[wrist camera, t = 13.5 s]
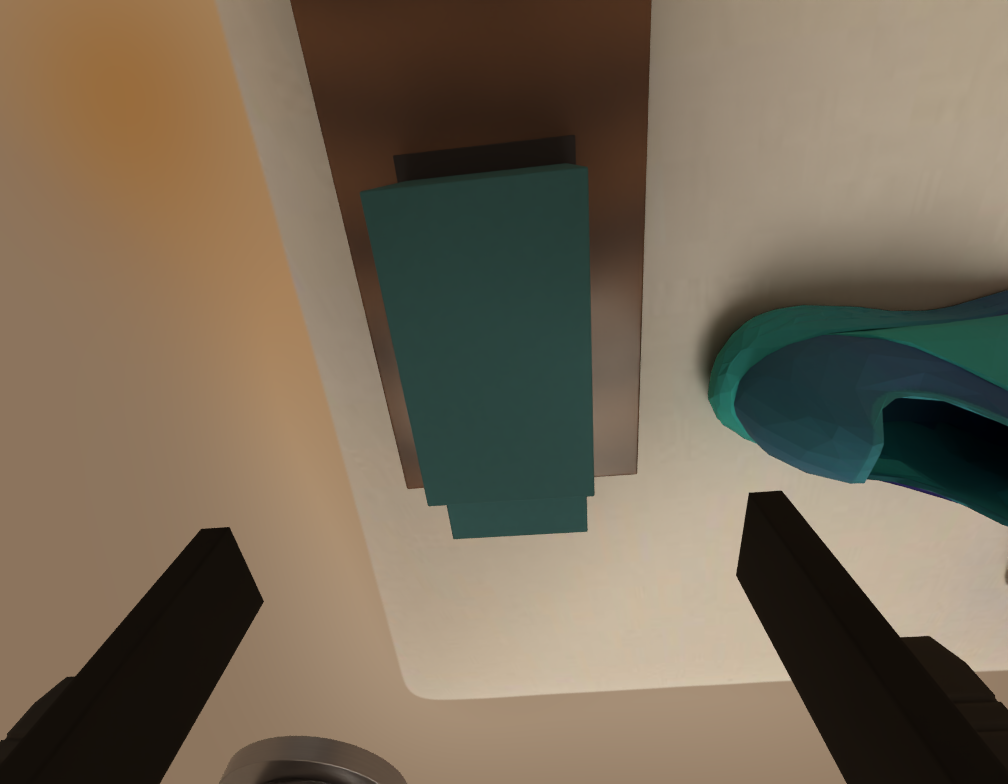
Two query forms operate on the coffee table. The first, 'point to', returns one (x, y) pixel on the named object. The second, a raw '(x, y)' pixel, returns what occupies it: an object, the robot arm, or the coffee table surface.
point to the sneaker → (877, 395)
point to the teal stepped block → (493, 329)
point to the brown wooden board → (490, 120)
